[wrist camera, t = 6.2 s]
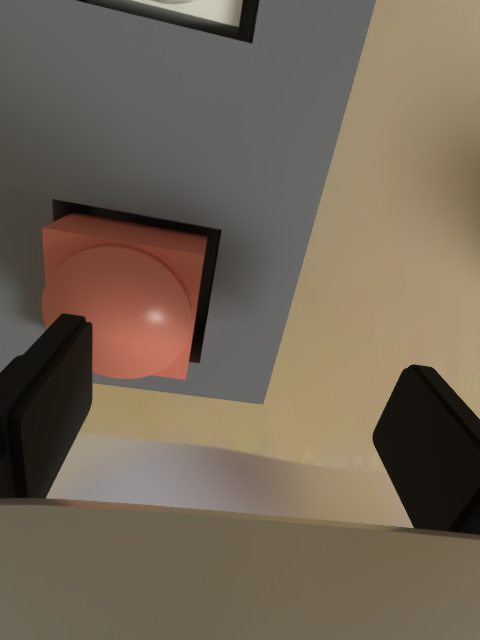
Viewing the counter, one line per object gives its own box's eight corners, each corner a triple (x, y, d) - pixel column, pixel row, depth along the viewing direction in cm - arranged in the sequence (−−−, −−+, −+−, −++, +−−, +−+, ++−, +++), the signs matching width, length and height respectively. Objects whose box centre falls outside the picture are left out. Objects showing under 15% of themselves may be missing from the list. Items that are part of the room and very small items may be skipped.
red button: (73, 212, 14) (32, 232, 11) (207, 236, 14) (202, 261, 11) (76, 329, 16) (43, 371, 13) (191, 345, 17) (183, 389, 14)
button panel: (-17, -324, 11) (-188, -650, 6) (387, -188, 12) (480, -374, 8) (35, 318, 20) (-18, 368, 16) (255, 350, 22) (263, 404, 18)
